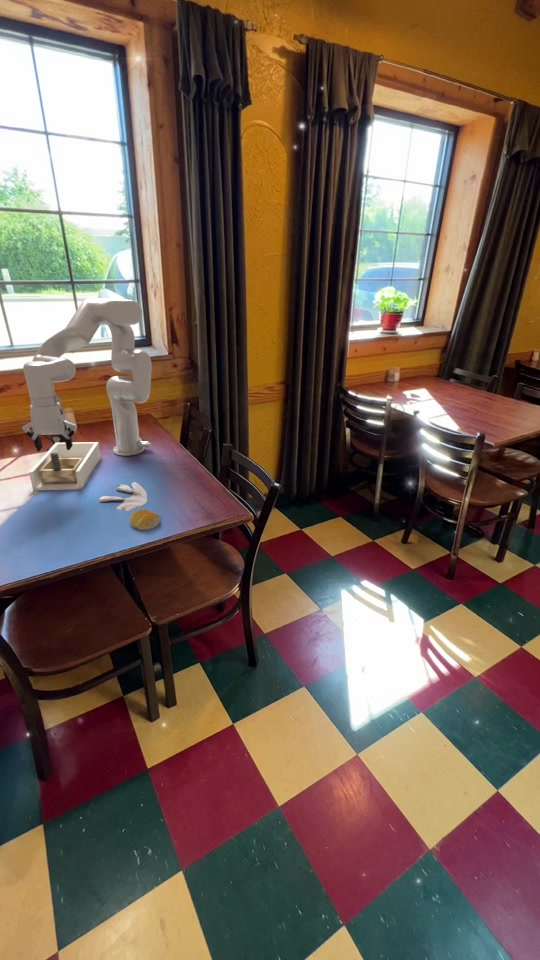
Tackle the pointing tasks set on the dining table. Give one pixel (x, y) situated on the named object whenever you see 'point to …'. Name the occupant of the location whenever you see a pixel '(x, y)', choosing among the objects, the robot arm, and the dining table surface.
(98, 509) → the dining table surface
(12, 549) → the dining table surface
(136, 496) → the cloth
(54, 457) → the box
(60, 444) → the bay
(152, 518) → the bread roll
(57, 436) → the coffee mug
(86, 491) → the dining table surface
